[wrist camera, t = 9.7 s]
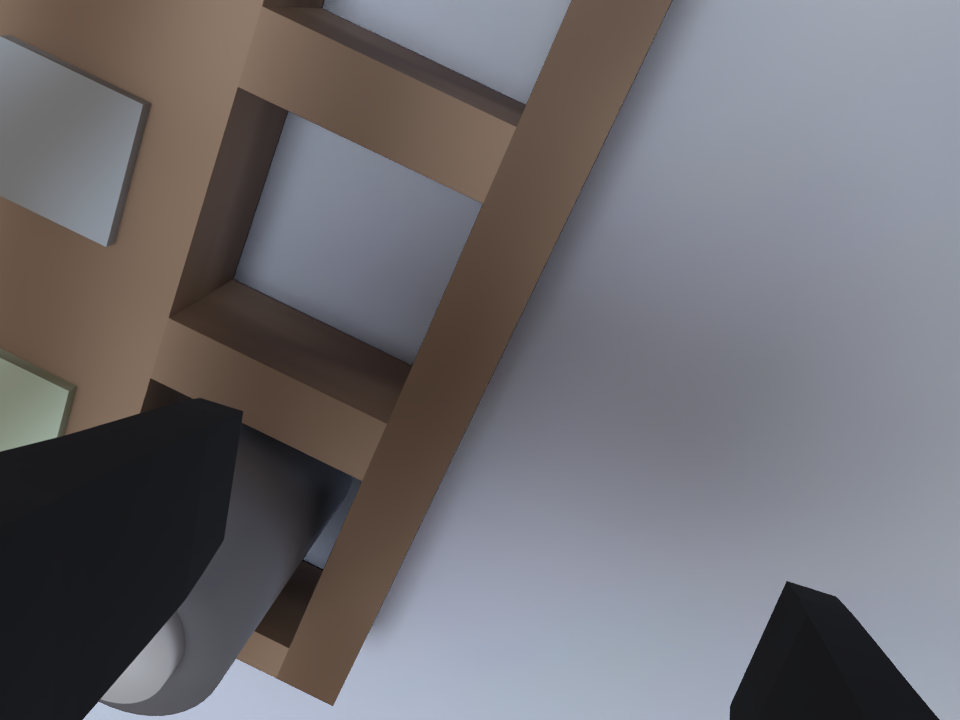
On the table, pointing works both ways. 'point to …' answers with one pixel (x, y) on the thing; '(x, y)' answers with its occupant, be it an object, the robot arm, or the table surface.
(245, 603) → the plug
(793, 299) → the table surface
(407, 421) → the socket board
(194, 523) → the robot arm
